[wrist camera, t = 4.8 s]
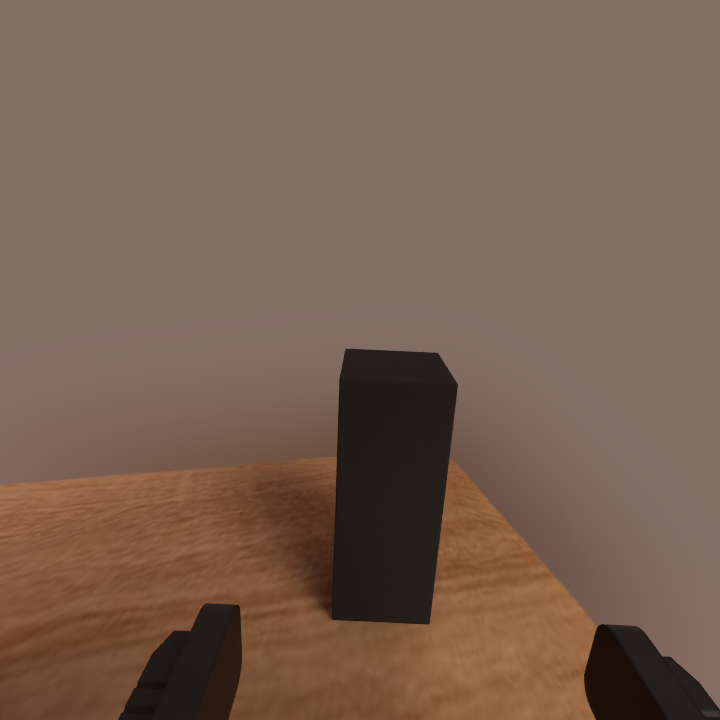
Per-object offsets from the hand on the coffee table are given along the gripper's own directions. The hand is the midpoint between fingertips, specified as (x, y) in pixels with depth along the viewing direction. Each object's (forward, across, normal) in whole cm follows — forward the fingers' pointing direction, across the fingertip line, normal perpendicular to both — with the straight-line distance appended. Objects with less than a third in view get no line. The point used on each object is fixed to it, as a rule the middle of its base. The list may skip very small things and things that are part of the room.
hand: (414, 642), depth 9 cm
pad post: (+10, 0, +8) cm, 13 cm away
